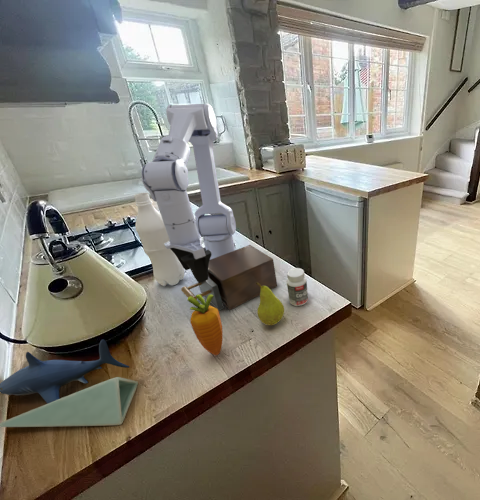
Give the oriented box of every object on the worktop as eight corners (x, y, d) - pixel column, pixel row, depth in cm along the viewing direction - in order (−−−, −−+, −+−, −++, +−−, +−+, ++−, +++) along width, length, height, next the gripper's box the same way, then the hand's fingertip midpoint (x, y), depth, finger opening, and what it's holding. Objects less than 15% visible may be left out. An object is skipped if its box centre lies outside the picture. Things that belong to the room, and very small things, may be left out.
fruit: (289, 315, 69) (283, 272, 64) (279, 332, 64) (272, 288, 59) (266, 312, 70) (258, 269, 65) (255, 329, 65) (245, 285, 60)
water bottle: (174, 289, 79) (141, 200, 67) (151, 286, 80) (115, 198, 68) (192, 275, 85) (165, 190, 73) (170, 272, 86) (140, 189, 74)
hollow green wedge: (-4, 376, 46) (129, 357, 51) (14, 402, 49) (138, 383, 54) (-49, 425, 39) (110, 399, 44) (-25, 453, 42) (122, 425, 47)
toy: (44, 378, 58) (0, 345, 53) (147, 348, 57) (113, 311, 52) (-1, 428, 50) (-58, 394, 45) (119, 393, 49) (75, 355, 44)
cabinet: (229, 310, 71) (221, 280, 67) (209, 290, 78) (201, 262, 74) (277, 286, 80) (273, 258, 76) (255, 270, 87) (250, 244, 83)
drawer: (199, 320, 67) (191, 296, 64) (182, 300, 73) (174, 277, 70) (265, 287, 78) (261, 265, 74) (245, 273, 84) (240, 252, 81)
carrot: (234, 346, 61) (218, 287, 54) (223, 365, 57) (203, 304, 50) (211, 344, 62) (192, 285, 54) (198, 364, 57) (176, 302, 50)
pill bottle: (298, 309, 71) (295, 280, 67) (285, 301, 74) (281, 273, 70) (312, 299, 75) (309, 271, 71) (299, 292, 77) (296, 265, 73)
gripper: (147, 216, 64) (166, 269, 70) (170, 236, 55) (190, 295, 61) (181, 207, 68) (197, 258, 75) (208, 224, 59) (223, 280, 66)
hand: (196, 274), depth 68 cm, fingers open, 7 cm apart
